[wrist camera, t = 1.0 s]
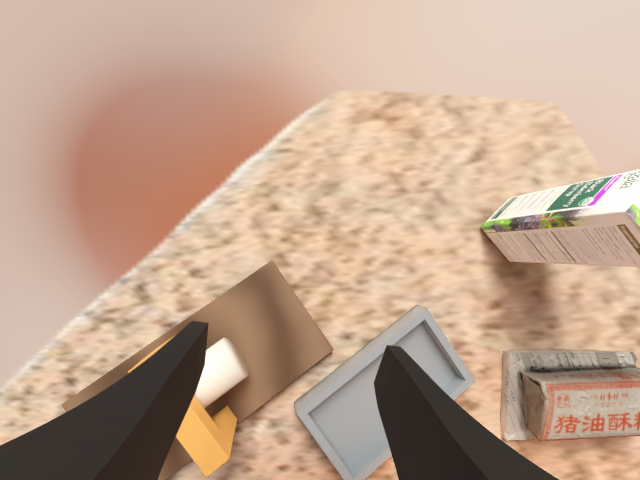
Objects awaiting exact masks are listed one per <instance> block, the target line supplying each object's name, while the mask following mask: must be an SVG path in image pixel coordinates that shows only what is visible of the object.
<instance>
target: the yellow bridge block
mask: <svg viewBox="0 0 640 480" xmlns="http://www.w3.org/2000/svg"><path fill="white" fill-rule="evenodd" d="M173 337H174V336H173ZM173 337H172V338H173ZM172 338H170V339H169V340H167V341H166V342H164V343H163V344H161V345H160V346H159V347H157V348H156V349H155V350H153V351H152V352H151V353H150V354H149V355H147V356H146V357H145V358H144V359H142V360H141V361H140V362H139V363H138V364H136V365H135V366H134V367H133V368H132V369H130V370H129V371H128V373H129V372H131V371H132V370H133V369H135V368H136V367H137V366H139V365H140V364H141V363H143V362H144V361H145V360H147V359H148V358H149V357H150V356H152V355H153V354H154V353H155V352H157V351H158V350H159V349H160V348H161V347H163V346H164V345H165V344H166V343H167V342H168V341H170V340H171V339H172ZM236 423H237V418H236V417H235V415H234V414H233V412H232V411H231V410H230V408H229V407H228V406H226V407H225V408H223V409H222V410H221V411H219V412H218V413H217V414H215V415H214V416H213V417H210V416H209V414H208V413H207V412H206V410H205V409H204V408H203V406H202V405H201V404H200V402H199V401H198V399H197V398H196V397H195V395H194V397H193V399H192V401H191V404H190V406H189V408H188V410H187V413H186V415H185V417H184V419H183V421H182V424H181V426H180V428H179V430H178V432H177V435H176V438H177V439H178V440H179V442H180V443H181V444H182V446H183V447H184V448H185V450H186V451H187V452H188V454H189V455H190V456H191V458H192V459H193V460H194V462H195V463H196V464H197V466H198V467H199V468H200V470H201V471H202V472H203V474H204V475H205V476H206V477H207V476H209V475H210V474H211V473H212V472H214V471H215V470H216V469H217V468H219V467H220V466H221V465H222V464H224V463H225V462H226V461H227V460H229V458H230V453H231V448H232V443H233V438H234V433H235V428H236Z"/></svg>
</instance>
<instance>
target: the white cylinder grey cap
mask: <svg viewBox="0 0 640 480" xmlns="http://www.w3.org/2000/svg"><path fill="white" fill-rule="evenodd" d="M247 376H248V368H247V365H246V363H245V361H244V359H243V357H242V355H241V353H240V352H239V350H238V349H237V348H236V346H235V345H234V344H233V343H232V342H231V341H230V340H229V339H227V338H222V339H221V340H220V341H218V342H217V343H215V344H214V345H213V346H211V347H210V348H208V349H207V350H206V356H205V365H204V369H203V372H202V375H201V378H200V381H199V384H198V387H197V390H196V392H195V397H196V398H197V399H198V401H199V402H200V404H201V405H202V406H203V408H206V407H207V406H208V405H210V404H211V403H212V402H214V401H215V400H216V399H218V398H219V397H220V396H222V395H223V394H224V393H226V392H227V391H228V390H230V389H231V388H232V387H234V386H235V385H236V384H238V383H239V382H240V381H242V380H243V379H244V378H246V377H247Z"/></svg>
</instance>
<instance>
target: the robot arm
mask: <svg viewBox="0 0 640 480" xmlns="http://www.w3.org/2000/svg"><path fill="white" fill-rule="evenodd" d="M208 324H209V323H206V322H198V321H191V322H190V323H188V324H187V325H186V326H185V327H184V328H183V329H182V330H181V331H180V332H179V333H178V334H176V335H175V336H174V337H173V338H172V339H171V340H170V341H168V342H167V343H166V344H165V345H164V346H163V347H161V348H160V349H159V350H158V351H157V352H155V353H154V354H153V355H152V356H150V357H149V358H148V359H147V360H145V361H144V362H143V363H141V364H140V365H139V366H137V367H136V368H135V369H133V370H132V371H131V372H129V373H128V374H127V375H125V376H124V377H122V378H121V379H120V380H118V381H117V382H115V383H114V384H112V385H111V386H109V387H108V388H106V389H105V390H103V391H101V392H100V393H98V394H97V395H95V396H94V397H92V398H90V399H88V400H87V401H85V402H83V403H82V404H80V405H78V406H77V407H75V408H73V409H71V410H69V411H68V412H66V413H64V414H62V415H61V416H59V417H57V418H55V419H53V420H51V421H49V422H48V423H46V424H44V425H42V426H40V427H38V428H36V429H34V430H32V431H30V432H28V433H26V434H24V435H22V436H20V437H17V438H15V439H13V440H11V441H9V442H7V443H5V444H3V445H1V446H0V480H158V477H159V475H160V472H161V469H162V467H163V464H164V462H165V459H166V457H167V454H168V452H169V450H170V448H171V446H172V443H173V441H174V439H175V437H176V435H177V432H178V430H179V428H180V426H181V424H182V421H183V419H184V417H185V415H186V413H187V410H188V408H189V406H190V404H191V401H192V399H193V397H194V395H195V392H196V390H197V387H198V384H199V381H200V378H201V375H202V372H203V369H204V365H205V356H206V346H207V335H208ZM374 388H375V395H376V400H377V406H378V410H379V414H380V417H381V420H382V424H383V427H384V431H385V434H386V437H387V440H388V444H389V447H390V450H391V454H392V457H393V460H394V463H395V467H396V470H397V474H398V478H399V480H558V479H557V478H555V477H554V476H552V475H551V474H549V473H547V472H546V471H544V470H543V469H541V468H540V467H538V466H537V465H535V464H534V463H532V462H531V461H529V460H528V459H526V458H525V457H523V456H522V455H521V454H519V453H518V452H516V451H515V450H514V449H512V448H511V447H510V446H508V445H507V444H505V443H504V442H503V441H501V440H500V439H499V438H497V437H496V436H495V435H494V434H492V433H491V432H490V431H488V430H487V429H486V428H485V427H484V426H482V425H481V424H480V423H479V422H478V421H476V420H475V419H474V418H473V417H471V416H470V415H469V414H468V413H467V412H466V411H465V410H464V409H462V408H461V407H460V406H459V405H458V404H457V403H456V402H455V401H454V400H453V399H452V398H451V397H450V396H448V395H447V394H446V393H445V392H444V391H443V390H442V389H441V388H440V387H439V386H438V385H437V384H436V383H435V382H434V381H433V380H432V379H431V378H430V376H429V375H428V374H427V373H426V372H425V371H424V370H423V369H422V368H421V367H420V366H419V365H418V364H417V363H416V362H415V361H414V360H413V359H412V358H411V357H410V356H409V355H408V354H407V352H406V351H405V350H403V349H402V348H401V347H399V346H391V345H386V348H385V351H384V354H383V357H382V360H381V363H380V366H379V369H378V371H377V374H376V377H375V380H374Z"/></svg>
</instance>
